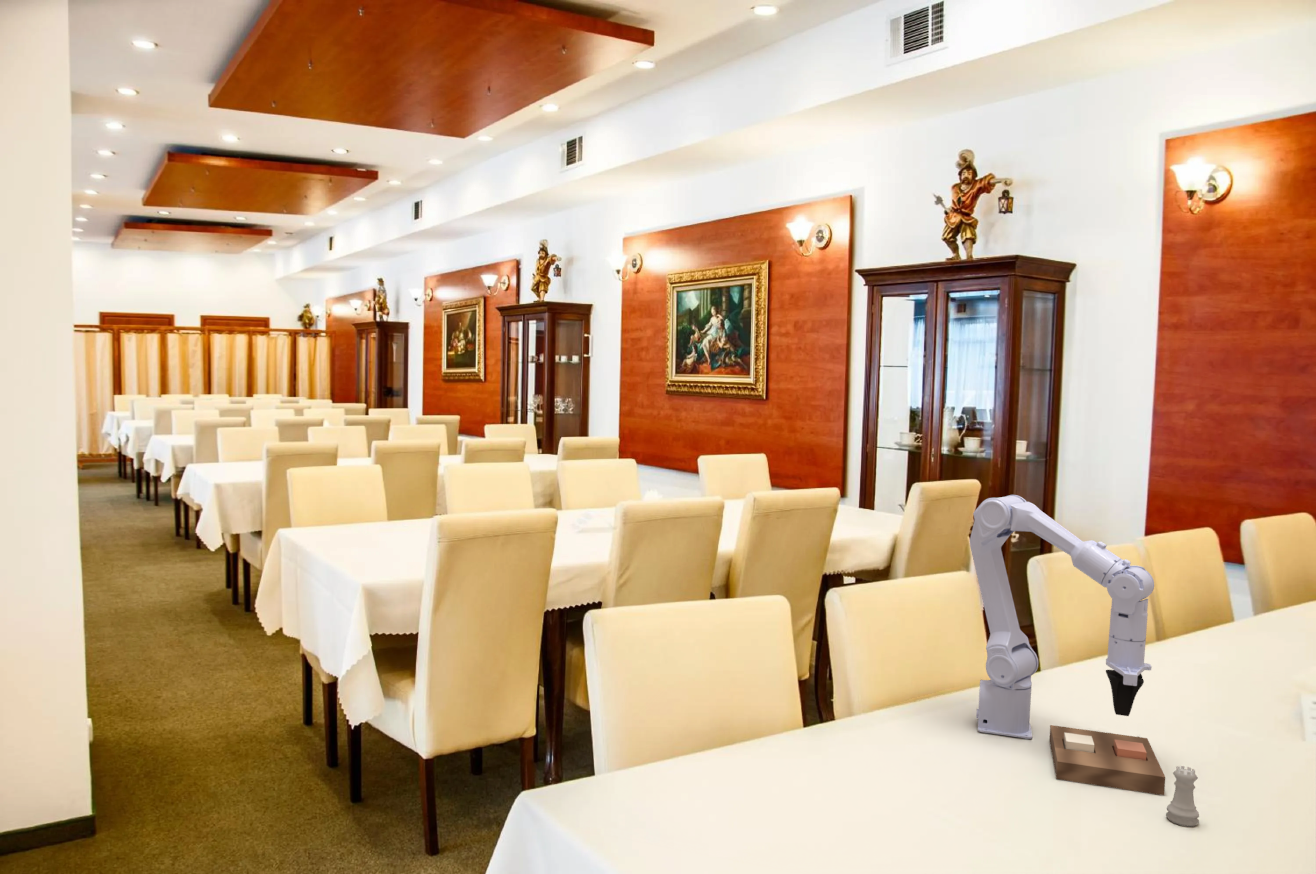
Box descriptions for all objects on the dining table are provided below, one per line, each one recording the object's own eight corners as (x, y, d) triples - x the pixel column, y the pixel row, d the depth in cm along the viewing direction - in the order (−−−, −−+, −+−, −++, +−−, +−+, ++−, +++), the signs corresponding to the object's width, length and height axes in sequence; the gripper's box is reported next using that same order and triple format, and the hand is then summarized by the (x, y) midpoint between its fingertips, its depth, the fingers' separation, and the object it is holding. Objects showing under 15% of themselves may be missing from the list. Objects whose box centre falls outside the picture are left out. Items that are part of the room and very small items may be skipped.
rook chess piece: (1195, 817, 146) (1199, 766, 146) (1201, 830, 142) (1205, 777, 141) (1163, 812, 148) (1166, 761, 147) (1168, 824, 143) (1171, 772, 143)
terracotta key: (1116, 768, 162) (1117, 748, 162) (1113, 759, 166) (1114, 739, 166) (1145, 772, 161) (1146, 752, 160) (1141, 763, 165) (1142, 743, 165)
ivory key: (1065, 761, 165) (1066, 741, 164) (1063, 751, 169) (1064, 732, 168) (1093, 765, 163) (1094, 745, 163) (1090, 755, 167) (1091, 736, 167)
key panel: (1056, 779, 159) (1057, 761, 159) (1049, 741, 176) (1050, 724, 176) (1164, 795, 154) (1165, 777, 153) (1146, 754, 171) (1147, 738, 170)
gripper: (1159, 651, 157) (1153, 732, 158) (1146, 629, 171) (1141, 704, 172) (1112, 645, 160) (1107, 725, 161) (1103, 625, 173) (1098, 698, 174)
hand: (1121, 714), depth 166 cm, fingers closed
